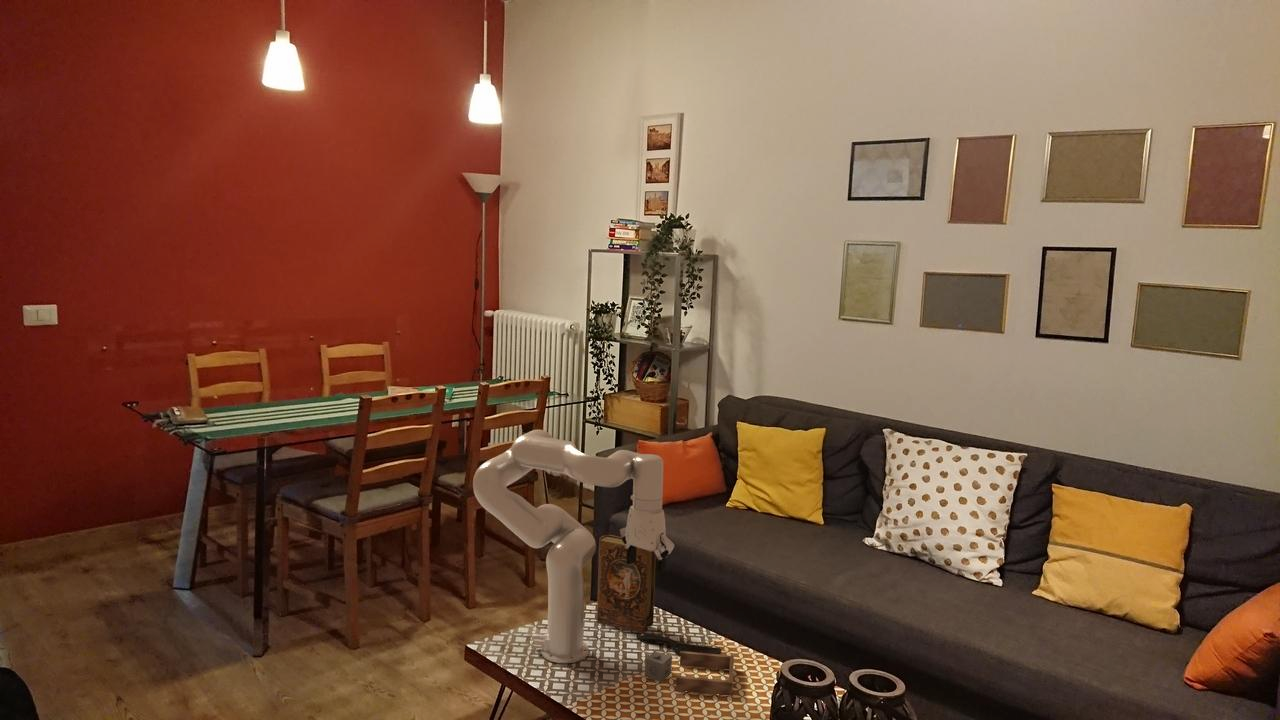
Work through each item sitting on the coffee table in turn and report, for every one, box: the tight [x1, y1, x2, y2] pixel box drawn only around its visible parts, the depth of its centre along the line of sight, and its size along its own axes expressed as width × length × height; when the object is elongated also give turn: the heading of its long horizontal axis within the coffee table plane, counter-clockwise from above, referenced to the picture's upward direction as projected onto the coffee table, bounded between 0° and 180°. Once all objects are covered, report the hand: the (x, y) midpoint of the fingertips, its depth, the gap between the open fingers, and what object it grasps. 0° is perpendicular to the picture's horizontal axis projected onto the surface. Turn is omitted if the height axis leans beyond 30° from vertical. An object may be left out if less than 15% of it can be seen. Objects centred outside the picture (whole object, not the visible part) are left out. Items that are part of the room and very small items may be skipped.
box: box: [675, 651, 735, 697], centre depth 211 cm, size 14×14×4 cm
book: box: [596, 534, 657, 634], centre depth 240 cm, size 16×6×25 cm, turn 66°
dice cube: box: [644, 650, 673, 683], centre depth 212 cm, size 5×5×5 cm
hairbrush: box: [637, 633, 723, 657], centre depth 227 cm, size 8×4×25 cm
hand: (645, 567), depth 213 cm, fingers open, 9 cm apart
